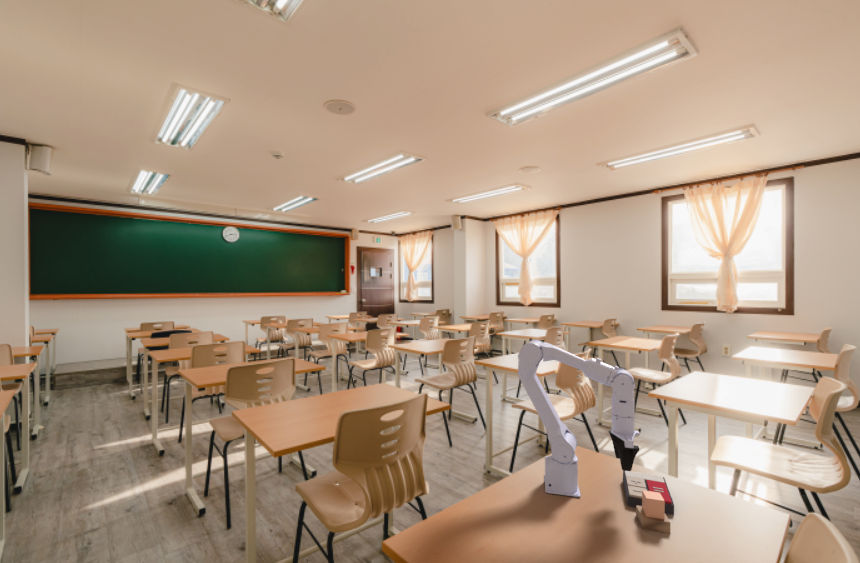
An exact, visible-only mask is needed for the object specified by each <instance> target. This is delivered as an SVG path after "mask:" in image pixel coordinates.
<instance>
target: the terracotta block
mask: <svg viewBox="0 0 860 563" xmlns="http://www.w3.org/2000/svg"><path fill="white" fill-rule="evenodd" d="M642 509H643V511H644V513H645V515H646V517H652V518H658V519H664V520H665V514H666V513H665V501H664V499H663V497H662V496H661V494H660V493H659V492H652V491H645V490H642Z"/></svg>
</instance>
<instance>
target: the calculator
mask: <svg viewBox="0 0 860 563" xmlns="http://www.w3.org/2000/svg"><path fill="white" fill-rule="evenodd" d="M622 483H623V488H624V493H625V494H624V495H625V500H626V506H628V507H631V508H636V505H638V506H642V490H645V491H652V492H659V493H660V494H661V496H662V497H663V499H664V501H665V514H666V515H667V514H668V515H673V516H674V515H675V504H674V501H673V498H672V496H671V493H670V490H669V487H668V485H667V482H666V479H665V477H664V476H662V475H658V474H651V473H644V472H640V471H639V472H638V471H633V470H631V471H623V470H622Z"/></svg>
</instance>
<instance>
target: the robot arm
mask: <svg viewBox="0 0 860 563" xmlns="http://www.w3.org/2000/svg"><path fill="white" fill-rule="evenodd" d="M517 359H518V364H517V365H518V366H517V375H518V379H520V382H521V384H522V386H523V388H524V389H525V391H526V394H527V396H528V397H529V400H530V401H531V403H532V405H533V407H534V409H535V411H536V413H537V415H538V416H539V419H540V420H541V422H542V424H543V426H544V428H545V430H546V432H547V439H548V442H549V444H550V448H551V449H550V450H551V451H550V452H551V455H545V456H544V474H543V482H544V490H545V493H546V494H552V495H553V494H554V495H561V496H568V497H575V498H581V492H580V487H579V484H578V483H579V480H578V479H579V478H578V477H579V471H578V470H579V468H578V466H579V465H578V464H579V459H578V456H577V455H576V449H577V447H578V439H577V437H576V435H575V434H574V433H573V432H571V431H570V430H569V428H568V427H567V425H566V424H565V423H564V422H563V421H562V420H561V418H560V416H559V414H558V413H557V410H556V409H555V406H554V405H553V403H552V401H551V399H550V397H549V396H548V394H547V391H546V390H545V388H544V386H543V385H542V382H541V381H540V379H539V377H538V375H537V371H538V368H539V366H540V363H541V361H543V362H549V361H556V362H559V363H562V364H565V365H567V366H570V367H572V368H575V369H577V370H580V371H581V372H582V373H583V375H584V377H585V378H588V379H590V380H592V381H595V382H597V383H599V384H601V385H603V386H606V387H611V389H612V395H611V397H610V398H611V401H610V402H611V427H610V430H608V432H607V433H608V435H609V436H610V439H611V441H612V442H611V443H612V446H613V450H614V455H615V458H616V459H619V461H620V462H619V463H620V466H621V470H622V472H623V471H633V470H632V469H633V465H634V461H635V458H636V456H637V454H638V453H639V451H640V446H639V445H637V444H636V445H635V442H634V440H635V437H636V436H640V432H639V430H635V425H636V424H635V416H636V415H635V398H634V397H635V392H634V390H635V389H636V384H635V380H634V379H635V378H634V376H633V374H632V373H631V372H629V371H628V370H626V369H625V368H620V367H619V366H617V365H615V366H613V365H610V364H608V363H605V362H603V361H602V358H599V357H596V358H594V357H592V358H588V359H584V358H583V357H580V356H578V355H576V354H573V353H572V352H569V351H568V350H565V349H562V348H560V347H558V346H557V345H554V344H552V343H549V342H543V341H541V340H540V339H532V340H530V341H528V342H527V343H525V344H523V345H522V347H521V348H520V350H519V352H518V355H517Z"/></svg>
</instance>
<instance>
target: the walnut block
mask: <svg viewBox="0 0 860 563" xmlns="http://www.w3.org/2000/svg"><path fill="white" fill-rule="evenodd" d="M635 516H636V518H637V520H638V522H639V524H640V527H641V528H642V530H644V531H652V532H657V533H658V532H659V533H666V534H671V521H670V519H669V517H668V516H667V514H666V513H665V520H664V519H658V518H652V517H646V515H645V513H644V511H643V509H642V506H638V505H636V509H635Z"/></svg>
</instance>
